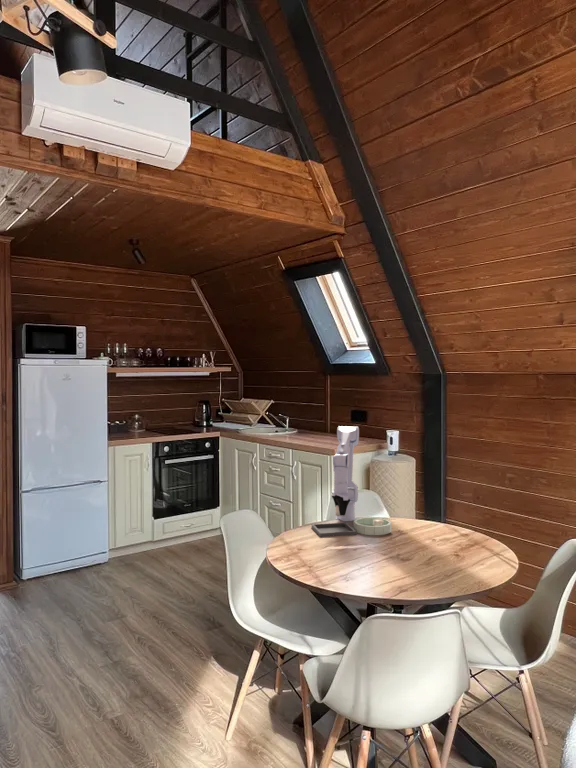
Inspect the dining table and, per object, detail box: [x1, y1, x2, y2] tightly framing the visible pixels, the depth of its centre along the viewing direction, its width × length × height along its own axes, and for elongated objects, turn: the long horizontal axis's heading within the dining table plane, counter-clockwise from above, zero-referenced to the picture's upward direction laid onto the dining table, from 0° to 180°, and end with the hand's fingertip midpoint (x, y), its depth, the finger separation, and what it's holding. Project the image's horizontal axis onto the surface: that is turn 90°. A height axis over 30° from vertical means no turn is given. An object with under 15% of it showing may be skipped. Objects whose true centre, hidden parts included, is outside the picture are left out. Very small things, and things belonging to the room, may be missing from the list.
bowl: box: [353, 516, 392, 536], centre depth 249 cm, size 16×16×4 cm
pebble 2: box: [373, 519, 384, 526], centre depth 249 cm, size 4×4×4 cm
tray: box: [311, 521, 357, 538], centre depth 247 cm, size 15×16×2 cm
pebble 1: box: [335, 505, 346, 517], centre depth 247 cm, size 4×4×4 cm
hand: (340, 513), depth 247 cm, fingers closed on pebble 1, 4 cm apart
